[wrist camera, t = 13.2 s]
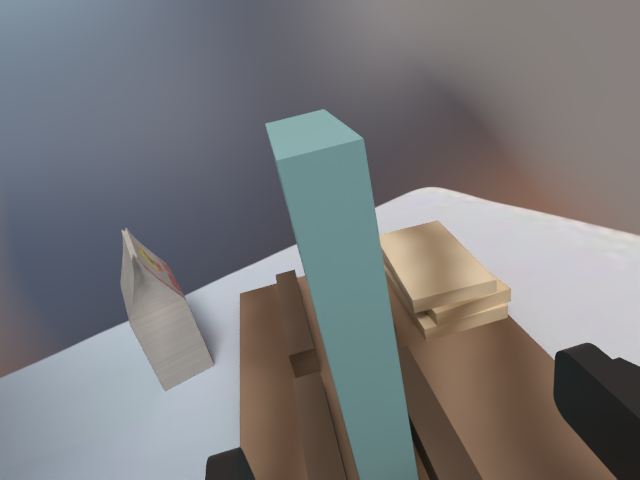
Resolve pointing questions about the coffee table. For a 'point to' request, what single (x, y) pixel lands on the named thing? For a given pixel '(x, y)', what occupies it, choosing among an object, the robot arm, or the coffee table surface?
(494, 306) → the pine offcuts
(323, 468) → the walnut rack
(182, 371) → the tea bag
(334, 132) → the teal panel
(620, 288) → the coffee table surface
